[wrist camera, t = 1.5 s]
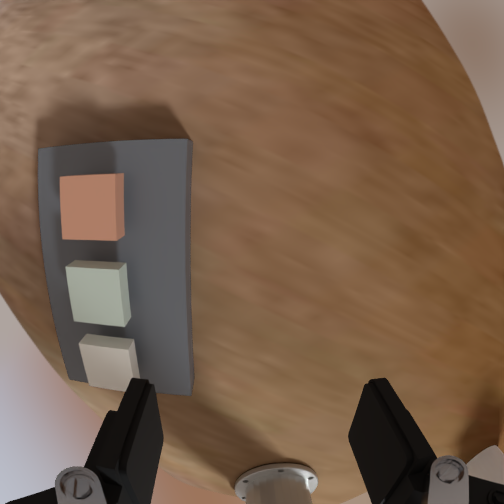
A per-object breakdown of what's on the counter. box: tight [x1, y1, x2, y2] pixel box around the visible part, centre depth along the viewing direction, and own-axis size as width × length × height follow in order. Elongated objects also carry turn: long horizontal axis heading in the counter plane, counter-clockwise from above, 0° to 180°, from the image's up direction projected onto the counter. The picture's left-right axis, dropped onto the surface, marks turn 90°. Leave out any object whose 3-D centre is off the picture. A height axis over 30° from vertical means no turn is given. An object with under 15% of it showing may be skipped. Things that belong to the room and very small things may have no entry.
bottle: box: [466, 445, 504, 485], centre depth 32 cm, size 12×12×25 cm
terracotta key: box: [60, 173, 125, 241], centre depth 22 cm, size 5×5×2 cm
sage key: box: [65, 260, 131, 327], centre depth 24 cm, size 5×5×2 cm
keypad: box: [38, 139, 194, 396], centre depth 27 cm, size 24×14×3 cm, turn 177°
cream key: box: [79, 334, 140, 392], centre depth 25 cm, size 5×5×2 cm
